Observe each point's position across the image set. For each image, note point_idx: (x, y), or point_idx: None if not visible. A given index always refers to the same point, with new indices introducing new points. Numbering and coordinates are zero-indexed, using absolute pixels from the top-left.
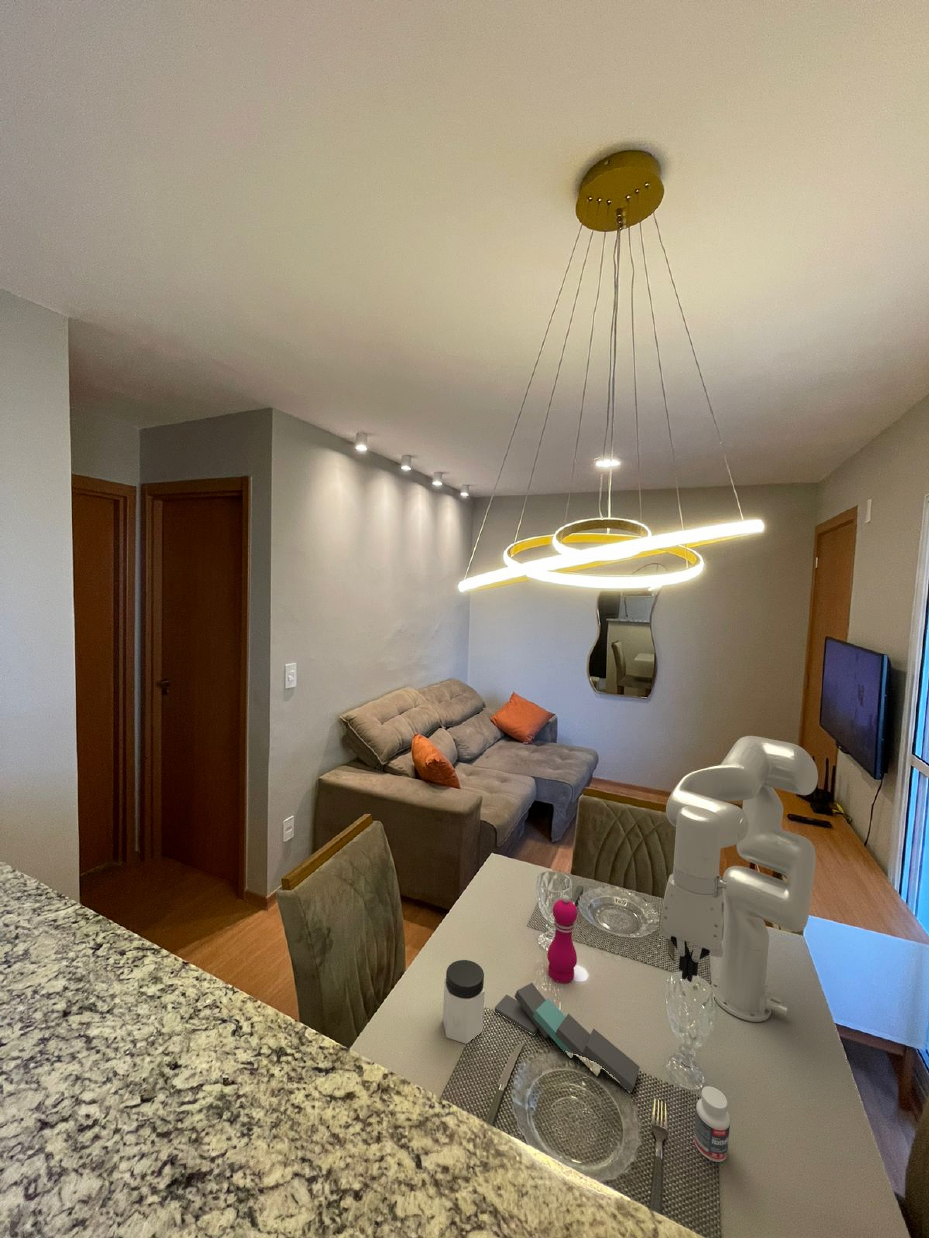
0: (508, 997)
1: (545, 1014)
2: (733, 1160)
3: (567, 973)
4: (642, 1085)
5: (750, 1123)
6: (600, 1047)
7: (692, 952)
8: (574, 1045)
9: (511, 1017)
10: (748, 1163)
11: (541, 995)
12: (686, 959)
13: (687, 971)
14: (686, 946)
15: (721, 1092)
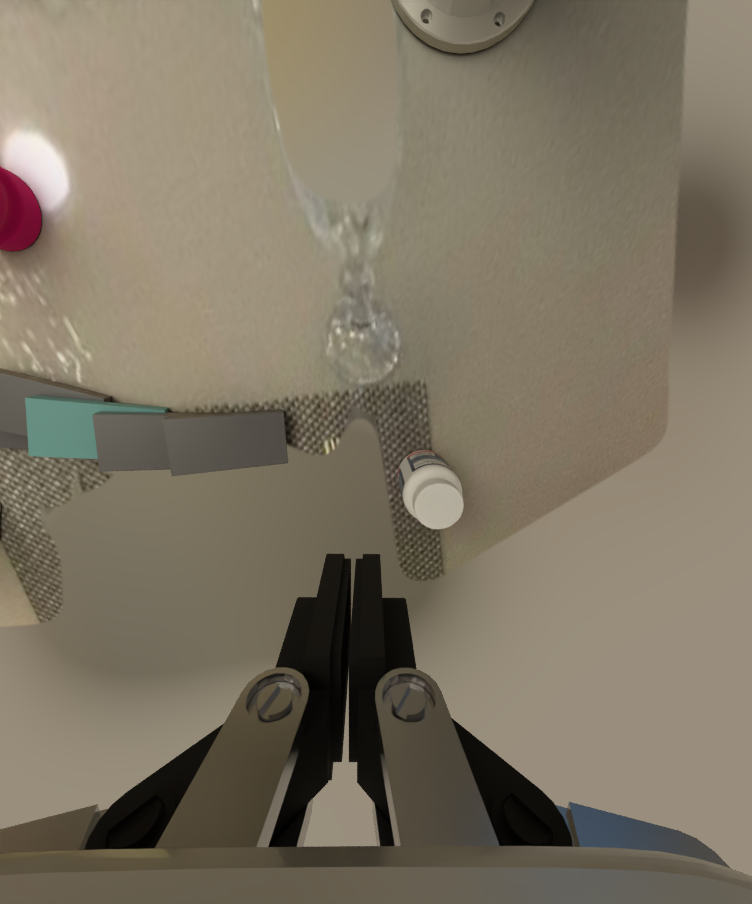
0: None
1: (55, 443)
2: (456, 475)
3: (11, 222)
4: (299, 428)
5: (482, 388)
6: (199, 449)
7: (369, 770)
8: (153, 469)
9: (13, 447)
10: (477, 466)
11: (11, 377)
12: (334, 757)
13: (349, 624)
14: (301, 748)
15: (451, 486)
